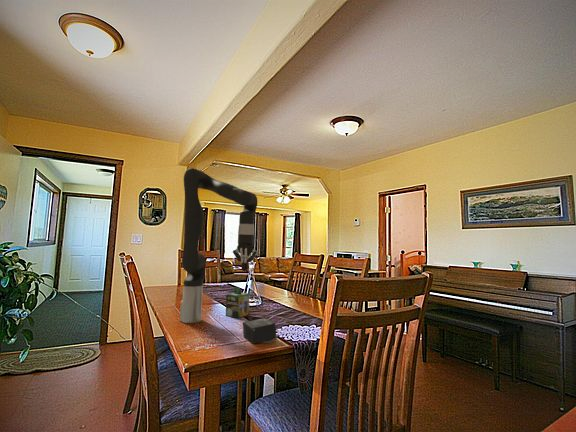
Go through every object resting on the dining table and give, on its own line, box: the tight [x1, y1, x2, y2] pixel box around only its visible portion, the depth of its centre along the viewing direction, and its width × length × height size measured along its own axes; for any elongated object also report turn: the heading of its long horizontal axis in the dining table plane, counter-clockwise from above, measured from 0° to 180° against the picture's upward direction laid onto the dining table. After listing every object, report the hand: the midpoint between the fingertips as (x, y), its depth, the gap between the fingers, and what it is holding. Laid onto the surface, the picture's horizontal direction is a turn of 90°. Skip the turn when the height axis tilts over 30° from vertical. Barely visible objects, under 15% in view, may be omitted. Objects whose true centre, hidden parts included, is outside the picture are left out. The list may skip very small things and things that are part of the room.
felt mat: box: [261, 333, 280, 344], centre depth 128 cm, size 4×11×1 cm, turn 161°
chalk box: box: [225, 287, 250, 319], centre depth 164 cm, size 9×9×15 cm
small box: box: [242, 317, 277, 344], centre depth 127 cm, size 11×6×10 cm
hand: (244, 270), depth 144 cm, fingers closed
